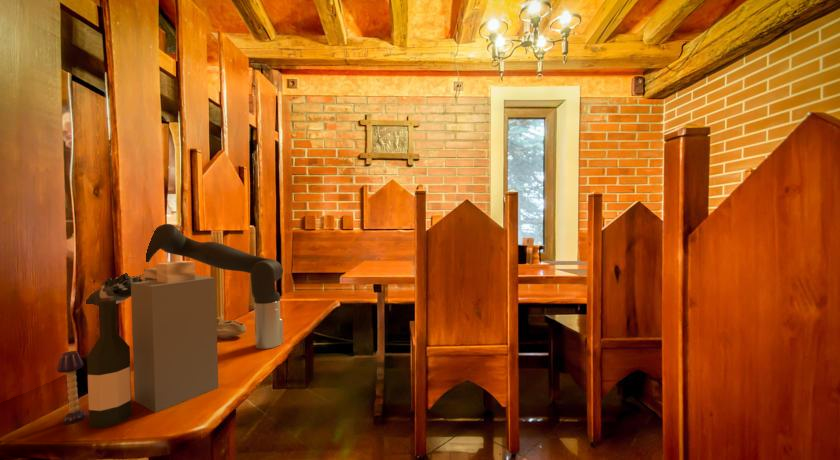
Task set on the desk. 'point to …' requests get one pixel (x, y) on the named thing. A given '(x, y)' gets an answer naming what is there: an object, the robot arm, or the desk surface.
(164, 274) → the mallet
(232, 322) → the oil lamp
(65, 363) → the toy lamp
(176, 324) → the stand
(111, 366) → the wine bottle
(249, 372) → the desk surface
